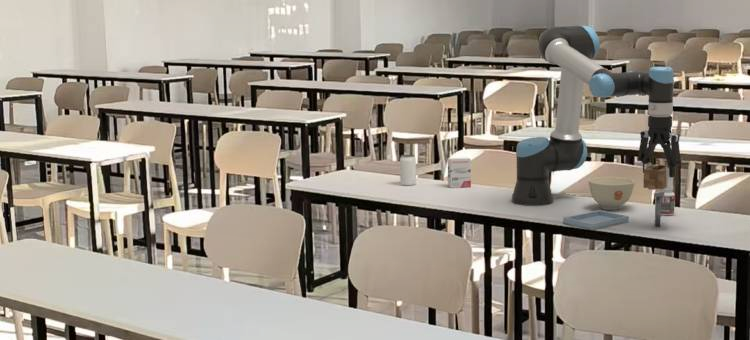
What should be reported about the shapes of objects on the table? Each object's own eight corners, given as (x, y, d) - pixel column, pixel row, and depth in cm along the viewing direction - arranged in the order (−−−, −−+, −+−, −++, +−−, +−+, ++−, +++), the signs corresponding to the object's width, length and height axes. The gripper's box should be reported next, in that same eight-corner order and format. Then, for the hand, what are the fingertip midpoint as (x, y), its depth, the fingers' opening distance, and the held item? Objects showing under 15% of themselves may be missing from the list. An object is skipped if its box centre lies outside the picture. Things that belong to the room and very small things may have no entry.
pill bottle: (674, 216, 346) (675, 187, 344) (657, 215, 347) (658, 187, 345) (673, 212, 351) (674, 184, 350) (656, 212, 352) (657, 184, 351)
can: (416, 185, 412) (415, 156, 410) (400, 186, 412) (399, 157, 410) (415, 182, 418) (415, 154, 416) (400, 183, 418) (399, 154, 416)
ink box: (468, 185, 411) (467, 156, 409) (471, 187, 406) (470, 158, 404) (447, 186, 410) (447, 157, 408) (450, 188, 405) (450, 159, 403)
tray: (563, 223, 339) (563, 217, 338) (599, 215, 349) (599, 210, 349) (592, 230, 328) (592, 224, 328) (628, 221, 339) (628, 216, 338)
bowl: (634, 204, 366) (634, 177, 365) (634, 213, 351) (634, 185, 349) (588, 203, 370) (589, 176, 369) (587, 212, 355) (587, 184, 353)
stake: (652, 226, 331) (653, 193, 329) (660, 224, 333) (660, 191, 332) (656, 227, 330) (657, 193, 328) (664, 225, 332) (665, 192, 330)
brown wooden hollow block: (654, 182, 335) (654, 164, 334) (673, 183, 332) (673, 165, 331) (641, 188, 325) (642, 170, 324) (661, 190, 322) (661, 171, 321)
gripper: (627, 113, 331) (625, 182, 335) (679, 119, 315) (677, 191, 319) (641, 111, 335) (640, 179, 339) (694, 117, 319) (692, 188, 323)
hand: (658, 184), depth 329 cm, fingers closed on brown wooden hollow block, 8 cm apart
